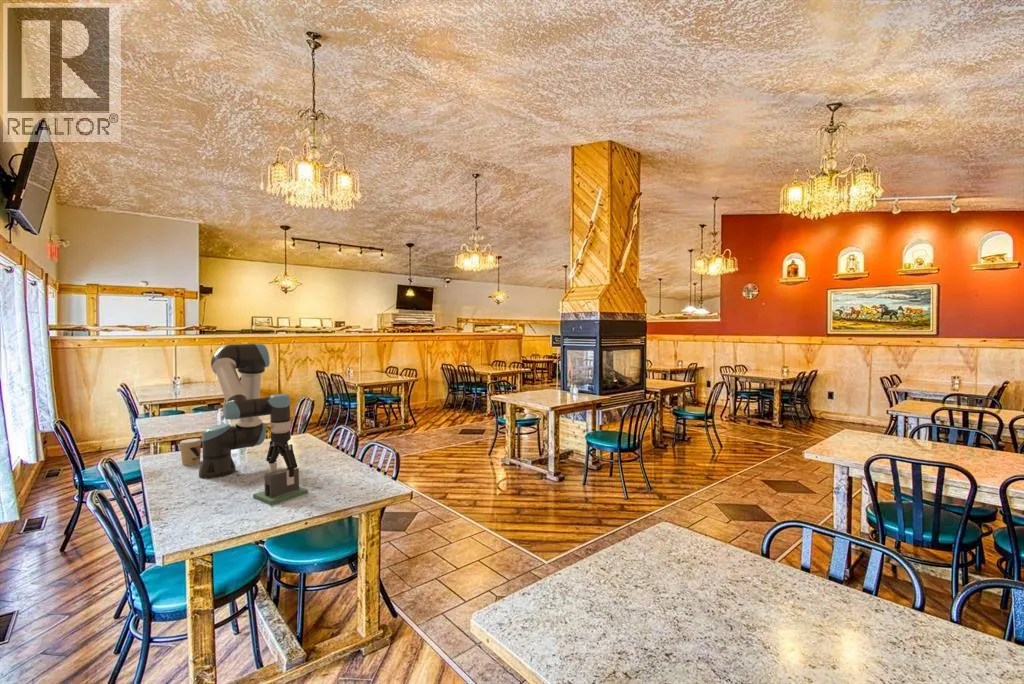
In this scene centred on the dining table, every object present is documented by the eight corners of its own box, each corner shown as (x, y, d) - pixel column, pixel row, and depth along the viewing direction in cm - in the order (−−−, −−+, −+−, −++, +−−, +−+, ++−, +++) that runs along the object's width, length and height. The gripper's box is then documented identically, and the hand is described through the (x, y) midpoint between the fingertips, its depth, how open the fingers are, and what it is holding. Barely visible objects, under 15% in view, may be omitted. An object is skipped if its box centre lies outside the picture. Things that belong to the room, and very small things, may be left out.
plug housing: (264, 495, 189) (264, 473, 189) (292, 486, 199) (292, 466, 198) (271, 497, 186) (270, 475, 186) (299, 489, 196) (298, 468, 196)
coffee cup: (193, 465, 236) (193, 442, 236) (175, 465, 236) (175, 442, 236) (206, 460, 245) (205, 438, 245) (188, 460, 245) (188, 438, 245)
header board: (253, 497, 191) (252, 484, 190) (290, 486, 204) (290, 474, 203) (270, 505, 183) (270, 491, 182) (307, 493, 196) (307, 480, 195)
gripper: (256, 429, 196) (257, 478, 196) (287, 437, 181) (289, 489, 182) (274, 426, 202) (275, 473, 203) (305, 433, 188) (306, 484, 188)
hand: (281, 481), depth 192 cm, fingers open, 13 cm apart
